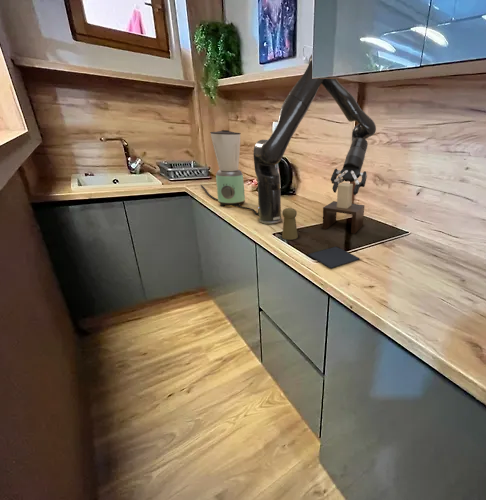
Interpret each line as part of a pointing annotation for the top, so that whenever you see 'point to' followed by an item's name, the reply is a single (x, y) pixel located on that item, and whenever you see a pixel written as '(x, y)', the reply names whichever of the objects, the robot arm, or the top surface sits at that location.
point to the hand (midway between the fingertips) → (344, 192)
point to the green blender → (228, 168)
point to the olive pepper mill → (289, 224)
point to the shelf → (354, 210)
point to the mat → (333, 257)
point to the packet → (344, 195)
